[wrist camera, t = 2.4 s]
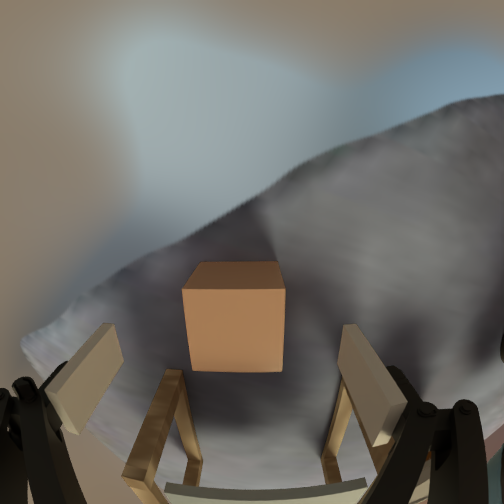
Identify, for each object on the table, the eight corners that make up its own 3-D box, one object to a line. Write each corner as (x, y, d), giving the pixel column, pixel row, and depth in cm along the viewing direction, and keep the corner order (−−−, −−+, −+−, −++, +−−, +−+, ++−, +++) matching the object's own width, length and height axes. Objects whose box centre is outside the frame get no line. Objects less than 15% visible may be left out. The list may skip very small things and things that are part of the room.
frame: (359, 365, 24) (409, 468, 11) (332, 457, 28) (350, 535, 15) (166, 368, 24) (121, 476, 12) (191, 459, 28) (175, 538, 15)
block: (277, 260, 22) (285, 288, 16) (276, 328, 23) (282, 371, 17) (200, 261, 22) (181, 289, 16) (205, 328, 23) (192, 370, 17)
